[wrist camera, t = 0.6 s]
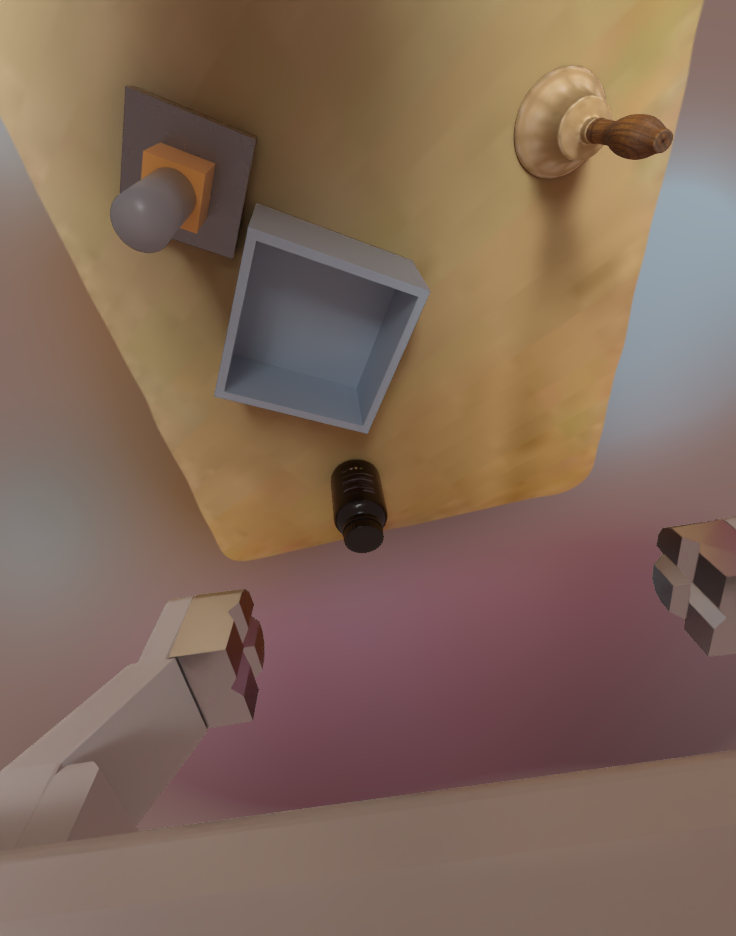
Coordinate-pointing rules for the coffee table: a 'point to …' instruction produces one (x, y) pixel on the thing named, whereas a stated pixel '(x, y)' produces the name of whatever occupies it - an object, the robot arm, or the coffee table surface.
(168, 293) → the coffee table surface
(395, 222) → the coffee table surface
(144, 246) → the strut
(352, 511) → the supplement bottle
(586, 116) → the hand bell
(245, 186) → the ball stud base
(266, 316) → the bin
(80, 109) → the coffee table surface
